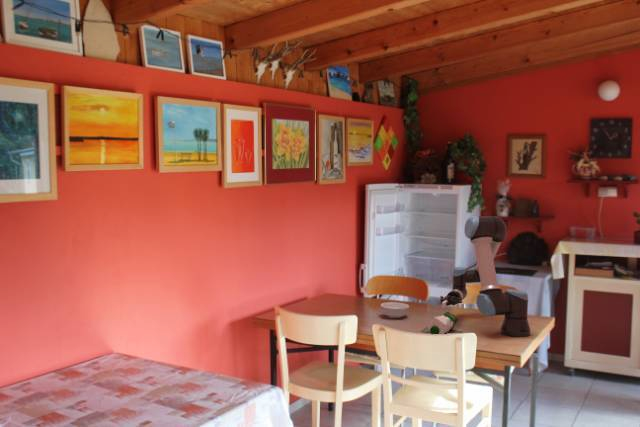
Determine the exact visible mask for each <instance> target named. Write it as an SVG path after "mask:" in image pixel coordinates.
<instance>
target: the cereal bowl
mask: <svg viewBox="0 0 640 427" xmlns="http://www.w3.org/2000/svg"><path fill="white" fill-rule="evenodd" d="M380 311H381V313H382V314H383V315H385V316H387V318H389V319H401V318H402V317H406V316H407V314H408V313H409V311H410V305H409V304H407V303H402V302H394V301H393V302H392V301H391V302H390V301H388V302H383V303H381V304H380Z"/></svg>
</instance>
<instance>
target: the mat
mask: <svg viewBox="0 0 640 427" xmlns="http://www.w3.org/2000/svg"><path fill="white" fill-rule="evenodd" d="M428 328H429V326H425V327H424V328H423V329H421V330H420V332H421V333H427V332H428V333H427V334H431V332H430V330H429V329H428ZM447 333H461V334H463V330H456V329H453V330H450V331H448V332H446V333H445V334H447Z"/></svg>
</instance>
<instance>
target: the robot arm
mask: <svg viewBox="0 0 640 427" xmlns="http://www.w3.org/2000/svg"><path fill="white" fill-rule="evenodd" d="M507 229H508V228H507V224H506V222H505V221H504V220H503V219H502V218H501V217H499V216H496V215H485V216H483V215H482V216H481V215H476V216H469V217H468V218H467V220H465V224H464V235H465V237H466V238H467V239H470V240H469V241H470V244H472V245H473V248H474V250H475V251H474V253H475V257H476V262H477V264H476V265H475V268H474V269H467V267H465V266H455V267H453V269H452V290H451V291H449V292H448V293H447V295H446V296H442V295H440V296H439V297H440V298H439V301H440V305H441V309H442V308H443V309H445V308H446V307H448V306H456V305H459V304H462V303H463V300H464V299H465V298H466V297H467V295H468V289H467V287H466V286H467V284H471V283H473V284H474V283H477V284H478V283H480V287H481V289H480V290H479V294H478V295H477V296H476V302H475V303H476V306H477V309H478V311H479V312H480V313H481V315H483V316H485V317H489V316H490V317H493V316H504V319H503V321H502V324H501V328H500V333H501V334H502V335H505V336H509V337H516V338H517V337H519V338H522V337H529V336H530V335H531V328H530V324H529V320H528V312H529V311H528V310H529V309H528V307H529V304H528V303H529V295H528V293H527V292H526V291H523V290H519V289H514V288H505V290H504V292H503V289H502V287H500V285H499V283H498V278H497V273H496V268H495V262H494V260H495V257H496V255H497V252H498V250H499V248H500V246H501V244H502V243H503V242H505V240H506V237H507V235H508V234H507V233H508V230H507Z"/></svg>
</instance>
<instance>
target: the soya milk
mask: <svg viewBox="0 0 640 427" xmlns="http://www.w3.org/2000/svg"><path fill="white" fill-rule="evenodd" d="M458 320H459V318H458V317H457V316H455V315H453V314H452V313H450V312H449V311H447V312H445V313H443V314H441V315H439V316H434V317H433V319H432V320H431V322H430V325H428V327H429V328H428V329H429V330H430V332H431V333H430V334H431V335H433V334H445V333H446V332H448V331H450V330H454V328H455V326H456V324H457V322H458Z"/></svg>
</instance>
